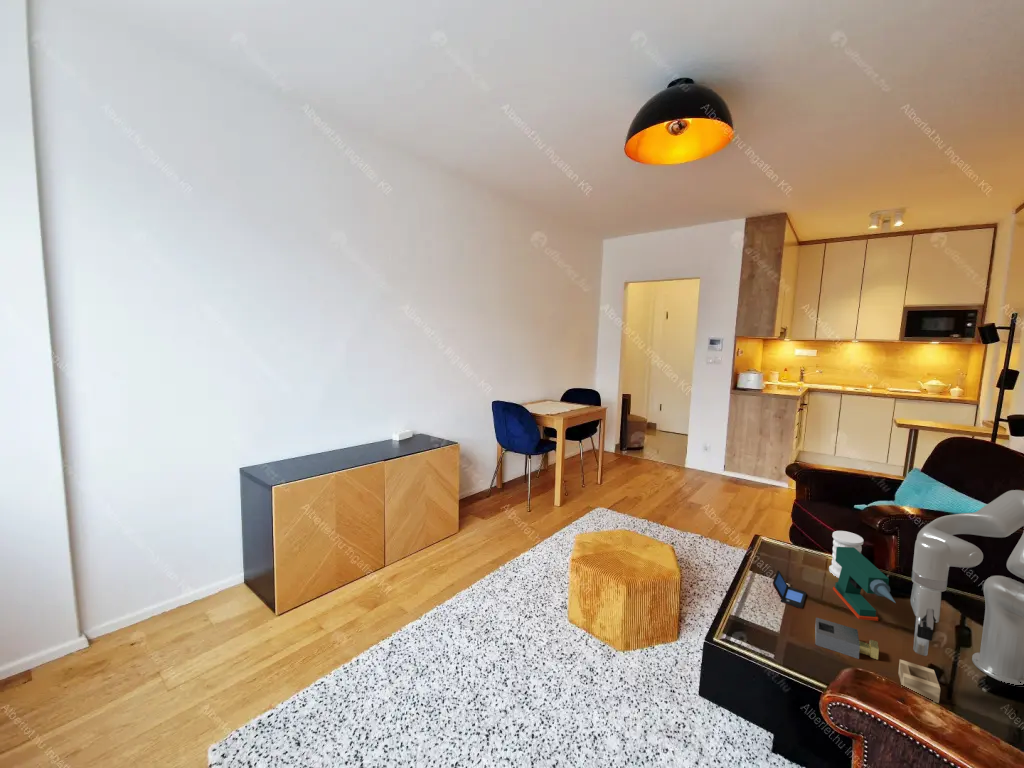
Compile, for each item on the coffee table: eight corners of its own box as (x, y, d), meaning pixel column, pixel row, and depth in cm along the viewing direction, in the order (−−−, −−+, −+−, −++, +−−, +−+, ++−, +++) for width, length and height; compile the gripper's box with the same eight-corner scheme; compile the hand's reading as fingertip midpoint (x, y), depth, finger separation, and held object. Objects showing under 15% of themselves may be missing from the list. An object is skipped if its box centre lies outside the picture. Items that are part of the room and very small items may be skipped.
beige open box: (932, 683, 132) (933, 669, 132) (938, 703, 126) (940, 688, 125) (898, 672, 137) (899, 659, 136) (902, 690, 131) (904, 676, 130)
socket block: (856, 642, 150) (857, 629, 150) (858, 658, 143) (859, 645, 142) (815, 629, 157) (815, 617, 157) (815, 644, 150) (816, 632, 149)
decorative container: (842, 582, 183) (845, 544, 181) (822, 567, 195) (825, 530, 192) (868, 581, 183) (871, 542, 181) (847, 565, 195) (850, 529, 192)
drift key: (876, 651, 145) (877, 641, 145) (877, 659, 142) (878, 649, 142) (833, 638, 152) (833, 628, 152) (833, 645, 149) (834, 635, 148)
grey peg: (926, 650, 130) (929, 612, 128) (928, 657, 127) (932, 618, 126) (912, 646, 132) (915, 608, 130) (914, 653, 129) (918, 614, 127)
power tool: (904, 647, 147) (909, 595, 144) (881, 645, 148) (886, 594, 145) (851, 590, 178) (854, 546, 175) (832, 589, 179) (835, 545, 176)
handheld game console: (802, 610, 168) (803, 593, 167) (771, 599, 175) (772, 583, 174) (806, 594, 177) (807, 578, 176) (777, 584, 184) (777, 569, 183)
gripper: (906, 562, 135) (901, 614, 138) (917, 589, 122) (911, 646, 124) (939, 569, 131) (933, 622, 133) (954, 598, 117) (947, 657, 120)
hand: (922, 633), depth 129 cm, fingers closed on grey peg, 3 cm apart
